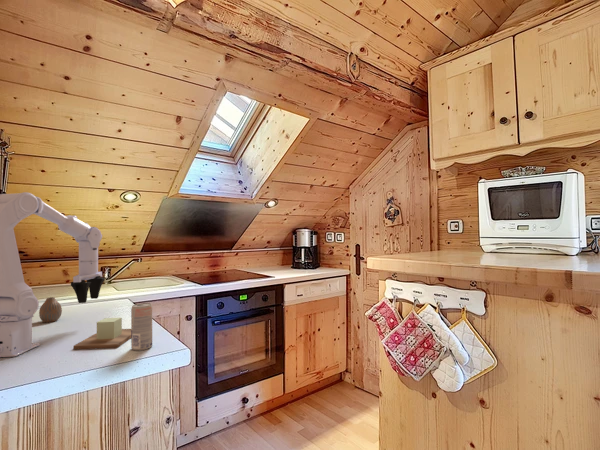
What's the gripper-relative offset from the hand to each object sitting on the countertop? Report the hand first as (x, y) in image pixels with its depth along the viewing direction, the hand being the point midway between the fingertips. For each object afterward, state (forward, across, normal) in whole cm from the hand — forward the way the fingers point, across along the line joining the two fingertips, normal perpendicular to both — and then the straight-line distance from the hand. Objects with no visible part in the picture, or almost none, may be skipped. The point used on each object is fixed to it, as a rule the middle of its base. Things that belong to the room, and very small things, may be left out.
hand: (88, 300), depth 117 cm
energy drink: (+10, -24, -27) cm, 37 cm away
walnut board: (+9, -15, -14) cm, 23 cm away
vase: (+10, +12, +20) cm, 25 cm away
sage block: (+8, -15, -14) cm, 22 cm away
